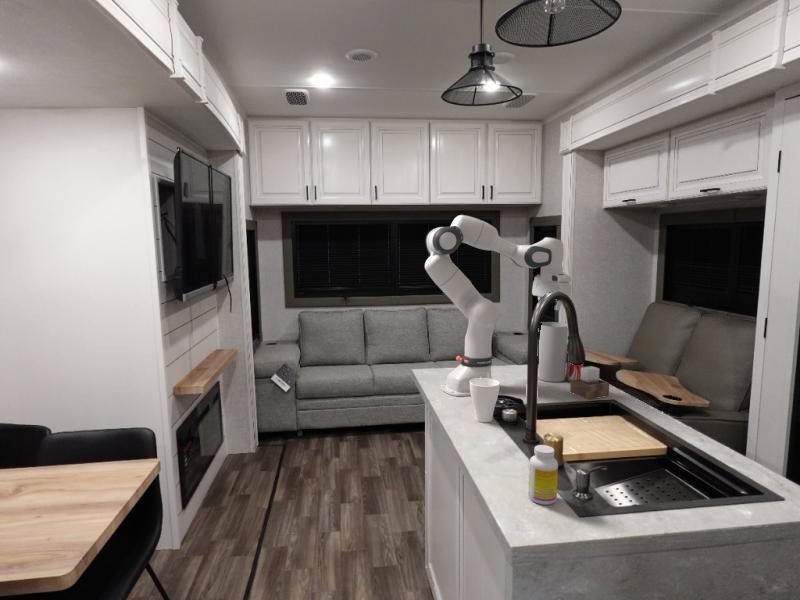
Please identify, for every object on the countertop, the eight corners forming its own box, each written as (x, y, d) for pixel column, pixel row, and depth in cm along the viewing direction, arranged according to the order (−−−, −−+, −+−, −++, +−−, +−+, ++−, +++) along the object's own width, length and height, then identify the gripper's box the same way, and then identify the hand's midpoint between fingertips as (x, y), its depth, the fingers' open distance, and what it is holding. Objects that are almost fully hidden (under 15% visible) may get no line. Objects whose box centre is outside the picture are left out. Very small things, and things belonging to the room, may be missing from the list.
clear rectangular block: (586, 394, 202) (588, 369, 201) (579, 391, 206) (580, 367, 204) (598, 392, 204) (599, 368, 203) (590, 389, 208) (592, 366, 207)
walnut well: (588, 399, 198) (588, 386, 198) (569, 392, 207) (570, 379, 207) (608, 396, 203) (609, 382, 202) (589, 389, 212) (590, 376, 211)
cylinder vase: (550, 373, 236) (552, 321, 232) (571, 380, 225) (574, 325, 222) (530, 377, 229) (532, 323, 226) (551, 384, 219) (554, 327, 215)
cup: (473, 412, 183) (474, 376, 181) (502, 417, 178) (503, 380, 176) (464, 421, 173) (465, 384, 172) (494, 427, 169) (495, 388, 167)
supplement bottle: (562, 503, 120) (564, 452, 119) (537, 507, 119) (540, 456, 117) (546, 490, 127) (548, 441, 125) (523, 493, 125) (525, 444, 123)
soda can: (580, 378, 228) (581, 350, 227) (584, 382, 221) (585, 354, 219) (564, 377, 229) (565, 349, 227) (567, 382, 222) (569, 353, 220)
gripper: (529, 274, 219) (527, 305, 221) (562, 278, 201) (560, 312, 202) (540, 274, 222) (539, 305, 223) (574, 277, 203) (572, 311, 205)
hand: (549, 308), depth 213 cm, fingers open, 8 cm apart
